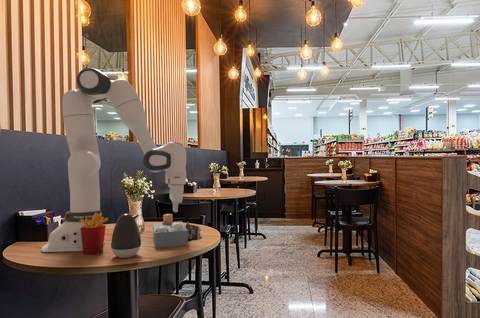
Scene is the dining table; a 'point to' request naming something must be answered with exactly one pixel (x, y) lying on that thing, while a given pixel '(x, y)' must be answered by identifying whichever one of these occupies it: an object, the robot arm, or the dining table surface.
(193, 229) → the chocolate cake
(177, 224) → the cream plunger
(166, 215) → the terracotta plunger
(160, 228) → the grey plunger
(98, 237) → the french fries
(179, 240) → the grey open box
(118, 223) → the dark grey egg shape
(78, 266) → the dining table surface
